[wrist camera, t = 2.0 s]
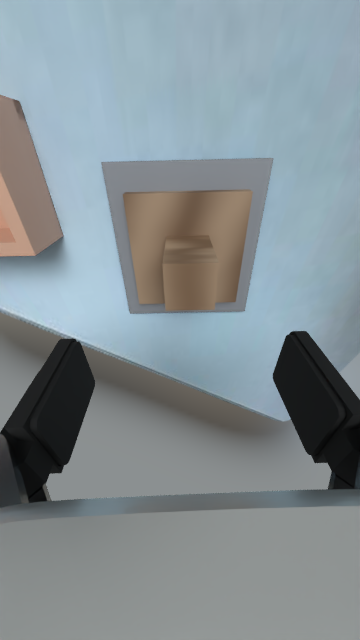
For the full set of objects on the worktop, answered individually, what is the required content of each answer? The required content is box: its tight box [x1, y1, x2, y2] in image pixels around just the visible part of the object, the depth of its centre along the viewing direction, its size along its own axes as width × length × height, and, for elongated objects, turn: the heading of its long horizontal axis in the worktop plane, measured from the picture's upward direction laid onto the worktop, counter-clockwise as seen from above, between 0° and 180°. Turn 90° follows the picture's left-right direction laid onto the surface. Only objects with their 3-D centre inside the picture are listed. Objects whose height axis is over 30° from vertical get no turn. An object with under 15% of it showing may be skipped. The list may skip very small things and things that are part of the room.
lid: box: [123, 189, 253, 311], centre depth 18 cm, size 10×10×7 cm
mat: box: [101, 158, 273, 313], centre depth 21 cm, size 13×14×1 cm
